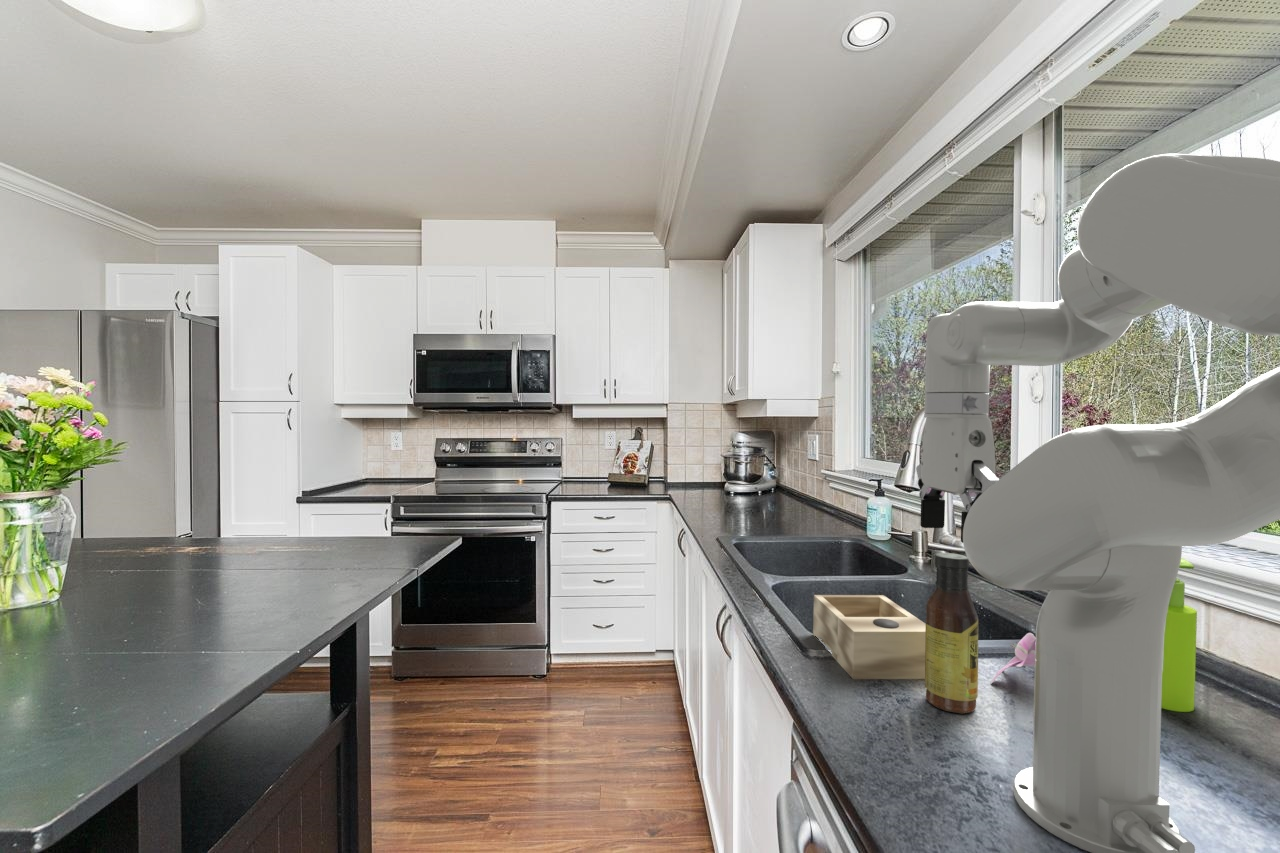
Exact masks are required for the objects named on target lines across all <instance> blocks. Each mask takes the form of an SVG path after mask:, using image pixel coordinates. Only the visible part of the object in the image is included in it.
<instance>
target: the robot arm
mask: <svg viewBox="0 0 1280 853" xmlns="http://www.w3.org/2000/svg"><path fill="white" fill-rule="evenodd" d="M1076 240H1077V245H1076V247H1074V248H1073V249H1072V250H1070V251H1069V252H1068V254H1066V256H1065V257H1064V259H1063V261H1062V262H1061V264H1060V267H1059V270H1058V274H1057V285H1058V289H1059V294H1060V297H1061V299H1060V300H1058V301H1057V300H1056V301H1054V302H1033V301H1032V302H1031V301H991V300H990V301H987V300H985V301H983V300H982V301H981V300H980V301H979V300H978V301H973V302H969V303H966V304H963V305H961V306H959V307H958V308H955V309H954V310H953V311H952V312H949V313H943V314H939V315H936V316H934V317H932V318H930V320H929V321H928V323H927V326H926V343H925V346H926V349H925V351H926V352H925V382H924V383H925V384H924V385H925V386H924V407H923V408H924V410H923V412H924V413H923V414H924V415H923V418H926V419H925V423H924V430H923V437H922V446H921V448H922V449H921V458H920V459H921V462H920V463H919V464H918V465H917V466H916V471H915V472H916V475H917V478H918V480H917V485H918V488H919V493H918V494H919V498H920V520H919V521H920V523H919V524H920V527H921V528H923V529H944V527H945V514H946V511H945V510H946V500H945V499H943V497H944V495H945V493H949V494H952V495H958V496H959V497H960V499H961V502H962V505H963V507H964V509H965V511H961V520H960V521H961V524H960V525H961V527H960V542H961V543H963V544H962V545H963V548H964V552H965V556H967V558H968V559H969V564H971V566H972V567H973V569H974V570H975V571H976V572H977V573H978V574H979V575H980V576H981V577H983V578H984V579H985V580H988V582H991V583H992V584H994V585H997V586H999V587H1002V588H1006V589H1009V590H1016V591H1049V592H1048V593H1047V595H1046V597H1045V598H1044V601H1043V603H1042V605H1041V607H1040V609H1039V613H1038V616H1037V622H1036V626H1035V628H1036V630H1035V637H1036V643H1035V666H1034V683H1033V684H1034V685H1033V686H1034V691H1033V694H1034V695H1033V725H1032V726H1033V727H1032V728H1033V730H1032V731H1033V734H1032V736H1033V737H1032V767H1027V768H1025V769H1022V770H1020V771H1019V772H1018V773H1017V774H1016V775H1015V777H1014V779H1013V796H1014V799H1015V800H1016V802H1017V804H1018V805H1019V807H1020V808H1021V809H1022V810H1023V811H1024V812H1025V814H1026V815H1027V816H1028V817H1029V818H1031V820H1032V821H1034V822H1035V823H1036V824H1037V825H1039V826H1040V827H1042V828H1043V829H1045V830H1046V831H1047V832H1049V833H1050V834H1052V835H1053V836H1056V837H1057V838H1059V839H1061V840H1062V841H1064V842H1066V843H1068V844H1070V845H1073V846H1074V847H1077V848H1079V849H1080V850H1083V851H1086V852H1089V853H1195V852H1196V847H1195V845H1194V843H1193V842H1192V841H1191V840H1189V839H1187V838H1186V837H1185V836H1183V835H1182V834H1181V831H1180V829H1179V827H1178V825H1177V824H1176V823H1175V822H1174V820H1173V819H1172V818H1171V817H1170V803H1169V802H1167V801H1166V800H1164V799H1163V798H1162V797H1161V796H1160V769H1161V768H1160V765H1161V762H1160V761H1161V732H1162V729H1161V728H1162V727H1161V726H1162V708H1161V698H1162V672H1163V654H1164V634H1165V625H1166V616H1167V611H1168V605H1169V601H1170V597H1171V593H1172V590H1173V587H1174V584H1175V580H1176V578H1177V576H1178V573H1179V571H1180V570H1179V569H1180V568H1179V566H1180V561H1181V558H1182V554H1183V552H1182V549H1183V547H1197V546H1199V547H1200V546H1207V545H1211V546H1212V545H1217V544H1221V543H1226V542H1229V541H1232V540H1235V539H1237V538H1241V537H1243V536H1245V535H1248V534H1249V533H1252V532H1253V531H1256V530H1258V529H1260V528H1263V527H1265V526H1267V525H1270V524H1271V523H1273V522H1277V521H1279V520H1280V366H1278V367H1276V368H1274V369H1273V370H1272V369H1271V370H1270V371H1268V372H1266V373H1263V374H1262V375H1260V376H1258V377H1256V378H1254V379H1252V380H1250V381H1249V382H1247V383H1245V384H1244V385H1243V386H1241V387H1240V388H1239V389H1237V390H1236V391H1234V392H1233V393H1232V394H1230V395H1229V396H1227V397H1226V398H1223V399H1222V400H1220V401H1219V402H1217V403H1216V404H1214V405H1212V406H1211V407H1209V408H1207V409H1205V410H1203V411H1202V412H1199V413H1198V414H1196V415H1194V416H1191V417H1189V418H1186V419H1184V420H1181V421H1177V422H1170V423H1159V424H1157V423H1155V424H1098V425H1090V426H1084V427H1078V428H1075V429H1072V430H1070V431H1067V432H1064V433H1061V434H1059V435H1056V436H1055V437H1052V438H1051V439H1049V440H1047V441H1046V442H1044V443H1043V444H1042V445H1041V446H1039V447H1038V448H1036V449H1035V450H1034V451H1033V452H1031V453H1030V454H1029V455H1028V456H1026V457H1025V458H1024V459H1023V460H1022V461H1020V462H1019V463H1018V464H1016V465H1015V466H1014V467H1012V469H1010V470H1009V471H1007V472H1006V473H1005V474H1004V475H1002V476H1001V477H1000V478H998V477H997V476H996V452H995V451H996V450H995V439H994V432H993V426H992V421H991V418H989V411H990V408H989V407H990V379H991V378H990V377H991V376H990V375H991V366H1023V367H1024V366H1025V367H1027V366H1030V367H1033V366H1034V367H1047V366H1054V365H1060V364H1064V363H1067V362H1070V361H1071V362H1072V361H1073V360H1077V359H1080V358H1082V357H1085V356H1088V355H1091V354H1094V353H1096V352H1099V351H1102V350H1104V349H1107V348H1109V347H1110V346H1112V345H1113V344H1115V343H1116V342H1117V341H1118V340H1120V338H1121V337H1122V336H1123V335H1124V334H1125V333H1126V332H1127V331H1128V330H1129V328H1130V327H1131V326H1132V324H1133V322H1134V320H1136V319H1138V318H1141V317H1143V316H1146V315H1148V314H1151V313H1154V312H1156V311H1157V310H1161V309H1163V308H1166V307H1169V306H1174V307H1176V308H1178V309H1181V310H1183V311H1186V312H1188V313H1190V314H1193V315H1195V316H1196V317H1199V318H1201V319H1203V320H1207V321H1210V322H1212V323H1214V324H1218V325H1219V326H1221V327H1225V328H1229V329H1231V330H1236V331H1240V332H1244V333H1247V334H1252V335H1260V336H1266V337H1278V338H1279V337H1280V161H1278V160H1273V159H1267V158H1261V157H1259V158H1258V157H1250V156H1249V157H1246V156H1245V157H1244V156H1229V155H1228V156H1225V155H1205V154H1193V153H1192V154H1190V153H1164V154H1157V155H1151V156H1147V157H1144V158H1141V159H1138V160H1136V161H1134V162H1131V163H1130V164H1126V165H1125V166H1124V167H1122V168H1120V169H1119V170H1117V171H1116V172H1114V173H1112V174H1111V175H1110V176H1109V177H1108V178H1106V179H1105V180H1104V181H1103V182H1102V183H1101V184H1100V185H1099V186H1098V187H1097V188H1096V189H1095V190H1094V192H1092V194H1091V195H1090V197H1089V198H1088V200H1087V201H1086V203H1085V205H1084V206H1083V209H1082V211H1081V212H1080V215H1079V218H1078V222H1077V227H1076ZM972 497H975V498H974V499H973V498H972Z"/></svg>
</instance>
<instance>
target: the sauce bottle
mask: <svg viewBox="0 0 1280 853" xmlns="http://www.w3.org/2000/svg"><path fill="white" fill-rule="evenodd" d="M934 565H935V568H936V574H935V575H936V581H935V586H936V588H935V589H934V591H933V592H932V594H931V595H930V597H928V600H927V602H926V621H925V624H926V632H925V679H924V687H925V690H926V691H925V698H926V700H927V701H928V702H929V704H930V705H933V706H934V707H935V708H937V709H940V710H943V711H946V712H950V713H955V714H967V713H968V714H969V713H972V712H974V711H975V709H976V708H977V699H978V697H979V696H978V695H979V689H978V688H979V686H978V685H979V616H978V613H977V610H976V609H975V608H976V607H975V605H974V601H973V599H972V597H971V593H970V591H969V585H968V582H969V581H968V577H969V576H968V575H969V574H968V570H969V568H970V561H969V559H968V558H967V555H963V554H958V553H952V552H950V553H949V552H940V553H938V552H937V553H936V554H935V555H934Z"/></svg>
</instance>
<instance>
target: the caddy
mask: <svg viewBox="0 0 1280 853" xmlns="http://www.w3.org/2000/svg"><path fill="white" fill-rule="evenodd" d="M812 618H813V622H812V623H813V624H812V625H813V629H812V635H813V636H814V637H815V636H816V637H818V638H820V639H822V640H821V641H822V642H824V644H825V645H827V647H828V648H829V649H830V650H831V652H832V655H831V657H833V659H834V660H835V661H836V662H837V664H839V665H840V666H841V668H842V669H843V670H844V671H845V672H846V673H847V674H848V675H849V676H850V678H852V680H925V632H926V622H923V621H922V620H921V619H919V618H918V617H916V616H915V615H913V614H912V613H910V612H909V611H908V610H906V609H905V608H903V607H901V606H900V605H898V604H897V603H895V602H894V601H893V600H892V599H890V598H888V597H887V596H886V595H884V594H881V595H880V594H855V595H854V594H813V616H812ZM816 637H815V638H816Z"/></svg>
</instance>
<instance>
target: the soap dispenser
mask: <svg viewBox="0 0 1280 853" xmlns="http://www.w3.org/2000/svg"><path fill="white" fill-rule="evenodd" d="M1179 569H1189V570H1190V569H1191V570H1194V569H1195V566H1194V564H1192V563H1191V562H1190V561H1188V560H1187V559H1185V558H1183V557H1181V561H1180V566H1179ZM1185 586H1186V584H1185V582H1184V581H1182V580H1181V579H1179V578H1177V577H1176V580H1175V584H1174V587H1173V590H1172V593H1171V597H1170V601H1169V605H1168V611H1167V616H1166V625H1165V634H1164V654H1163V672H1162V698H1161V709H1164V710H1166V711H1167V710H1168V711H1172V712H1179V713H1189V712H1194V710H1195V697H1196V696H1195V695H1196V694H1195V692H1196V687H1195V686H1196V663H1197V662H1196V657H1197V656H1196V655H1197V652H1196V651H1197V626H1198V623H1197V621H1198V620H1197V619H1198V617H1197V616H1198V611H1197V609H1195V608H1193V607H1190V606H1188V605H1185V590H1186V589H1185V588H1186V587H1185Z"/></svg>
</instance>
